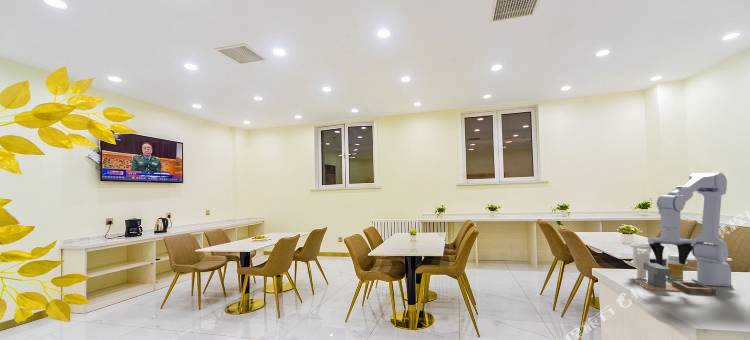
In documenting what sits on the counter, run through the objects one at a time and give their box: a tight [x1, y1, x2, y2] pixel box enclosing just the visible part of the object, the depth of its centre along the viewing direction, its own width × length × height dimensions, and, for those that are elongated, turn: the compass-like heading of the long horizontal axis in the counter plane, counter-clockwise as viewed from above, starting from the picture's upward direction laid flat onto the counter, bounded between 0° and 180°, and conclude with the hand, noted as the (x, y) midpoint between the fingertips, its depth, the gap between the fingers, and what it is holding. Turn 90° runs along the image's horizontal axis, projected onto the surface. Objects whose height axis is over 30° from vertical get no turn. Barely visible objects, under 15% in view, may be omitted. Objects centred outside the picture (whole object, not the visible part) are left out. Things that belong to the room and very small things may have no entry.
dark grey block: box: [644, 262, 671, 287], centre depth 136 cm, size 9×4×8 cm, turn 170°
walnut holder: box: [671, 280, 717, 296], centre depth 132 cm, size 9×9×2 cm
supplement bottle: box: [665, 254, 684, 281], centre depth 148 cm, size 5×5×10 cm
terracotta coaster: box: [634, 280, 681, 293], centre depth 136 cm, size 10×10×1 cm
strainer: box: [630, 242, 652, 280], centre depth 148 cm, size 7×7×15 cm
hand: (670, 263), depth 133 cm, fingers open, 7 cm apart
